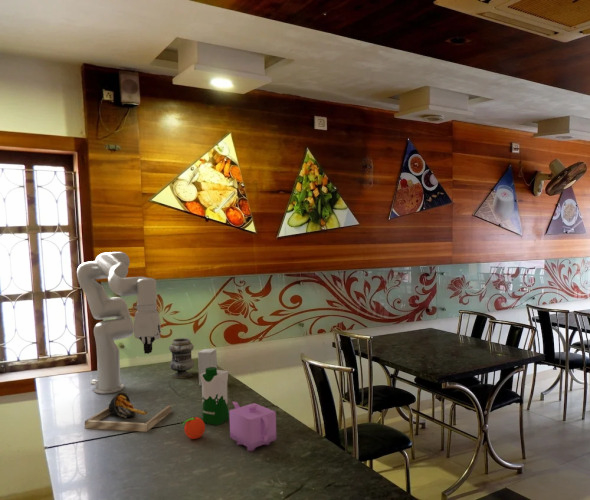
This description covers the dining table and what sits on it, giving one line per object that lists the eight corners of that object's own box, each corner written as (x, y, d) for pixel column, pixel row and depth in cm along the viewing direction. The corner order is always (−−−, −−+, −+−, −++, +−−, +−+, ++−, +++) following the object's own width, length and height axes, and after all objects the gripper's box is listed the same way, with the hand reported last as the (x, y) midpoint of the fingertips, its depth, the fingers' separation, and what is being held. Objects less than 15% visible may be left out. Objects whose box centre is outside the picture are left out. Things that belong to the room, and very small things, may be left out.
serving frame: (84, 428, 173) (84, 421, 173) (114, 408, 192) (114, 402, 192) (146, 431, 168) (146, 424, 168) (171, 411, 187) (171, 405, 187)
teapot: (281, 446, 153) (280, 408, 153) (255, 456, 147) (254, 416, 146) (245, 429, 168) (244, 393, 168) (221, 437, 162) (220, 400, 161)
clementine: (184, 444, 156) (183, 423, 156) (179, 437, 163) (178, 416, 162) (208, 439, 160) (207, 418, 160) (202, 432, 166) (201, 412, 166)
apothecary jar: (181, 380, 229) (180, 343, 228) (164, 377, 235) (163, 340, 235) (199, 374, 239) (198, 338, 238) (182, 371, 245) (181, 336, 245)
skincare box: (211, 386, 218) (210, 352, 218) (197, 386, 219) (196, 352, 219) (218, 381, 226) (217, 348, 226) (204, 380, 228) (204, 348, 227)
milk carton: (198, 423, 174) (197, 369, 174) (213, 414, 183) (211, 363, 182) (219, 426, 171) (217, 371, 170) (232, 418, 179) (231, 365, 178)
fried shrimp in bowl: (119, 396, 192) (155, 385, 187) (119, 425, 188) (157, 414, 182) (102, 395, 185) (139, 383, 179) (102, 424, 180) (140, 413, 175)
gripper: (125, 309, 193) (126, 354, 194) (159, 310, 190) (160, 355, 191) (135, 306, 201) (136, 350, 201) (168, 307, 198) (169, 351, 198)
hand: (148, 352), depth 196 cm, fingers closed
